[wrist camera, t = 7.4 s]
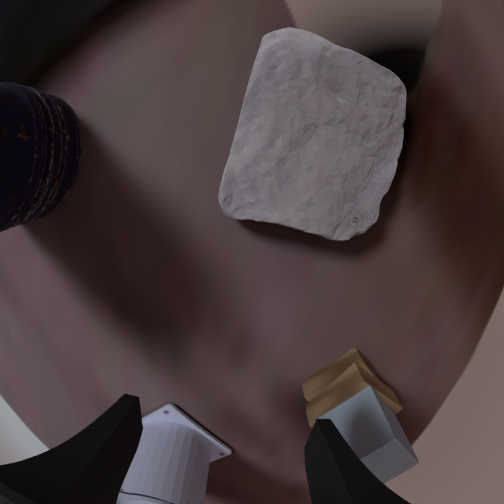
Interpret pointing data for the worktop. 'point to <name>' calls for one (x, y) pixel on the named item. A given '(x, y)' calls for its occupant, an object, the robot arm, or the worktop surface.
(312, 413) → the tower top slab
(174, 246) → the worktop surface
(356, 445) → the blue block
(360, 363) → the tower bottom slab
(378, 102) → the stone block
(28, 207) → the storage jar
